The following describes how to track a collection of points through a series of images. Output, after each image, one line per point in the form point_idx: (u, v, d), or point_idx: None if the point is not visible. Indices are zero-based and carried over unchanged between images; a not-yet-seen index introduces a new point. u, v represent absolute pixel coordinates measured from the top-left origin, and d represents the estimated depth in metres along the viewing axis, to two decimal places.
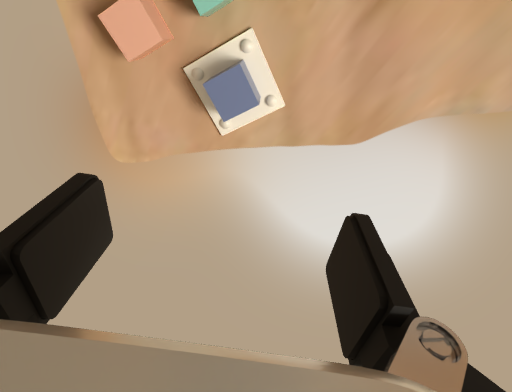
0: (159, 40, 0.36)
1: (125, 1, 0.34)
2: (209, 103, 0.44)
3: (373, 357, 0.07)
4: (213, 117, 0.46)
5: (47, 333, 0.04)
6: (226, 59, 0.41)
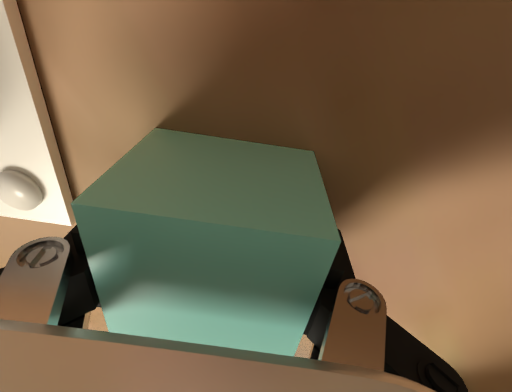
0: None
1: None
2: None
3: (312, 318, 0.08)
4: None
5: (47, 333, 0.04)
6: None
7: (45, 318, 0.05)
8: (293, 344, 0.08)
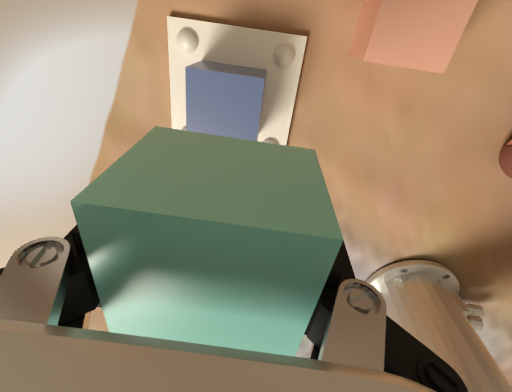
0: (367, 54, 0.19)
1: (448, 47, 0.19)
2: (232, 37, 0.23)
3: (312, 317, 0.08)
4: (207, 26, 0.23)
5: (47, 333, 0.04)
6: (272, 112, 0.26)
7: (45, 318, 0.05)
8: (294, 344, 0.08)
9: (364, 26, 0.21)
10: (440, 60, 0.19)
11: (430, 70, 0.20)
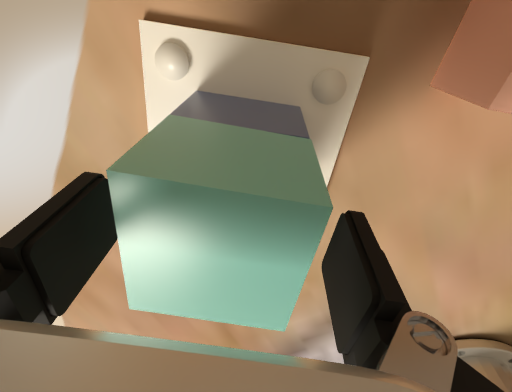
0: (498, 99, 0.11)
1: None
2: (247, 56, 0.14)
3: (366, 351, 0.07)
4: (205, 37, 0.14)
5: (47, 333, 0.04)
6: None
7: None
8: (290, 306, 0.10)
9: (481, 45, 0.12)
10: None
11: None
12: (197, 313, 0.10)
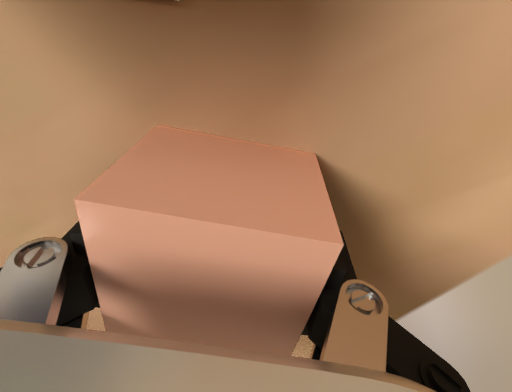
0: (95, 208, 0.06)
1: None
2: None
3: (314, 318, 0.08)
4: None
5: (47, 333, 0.04)
6: None
7: (43, 318, 0.05)
8: None
9: (199, 165, 0.08)
10: None
11: (107, 328, 0.09)
12: None
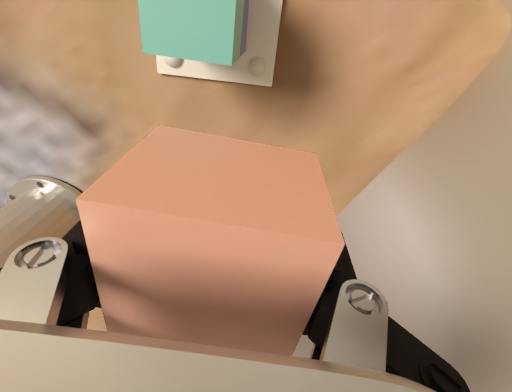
0: (97, 207, 0.06)
1: None
2: (271, 13, 0.25)
3: (314, 318, 0.08)
4: None
5: (47, 333, 0.04)
6: None
7: (43, 318, 0.05)
8: (166, 53, 0.18)
9: (200, 165, 0.08)
10: None
11: (109, 328, 0.09)
12: None
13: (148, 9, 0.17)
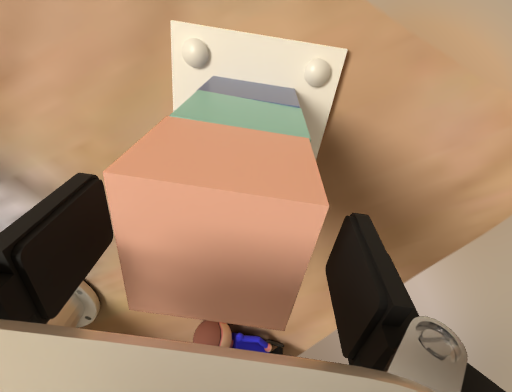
0: (120, 179, 0.07)
1: (171, 308, 0.10)
2: (313, 128, 0.21)
3: (373, 357, 0.07)
4: (328, 100, 0.20)
5: (47, 333, 0.04)
6: None
7: None
8: None
9: (205, 147, 0.09)
10: (148, 302, 0.10)
11: (128, 293, 0.10)
12: None
13: None
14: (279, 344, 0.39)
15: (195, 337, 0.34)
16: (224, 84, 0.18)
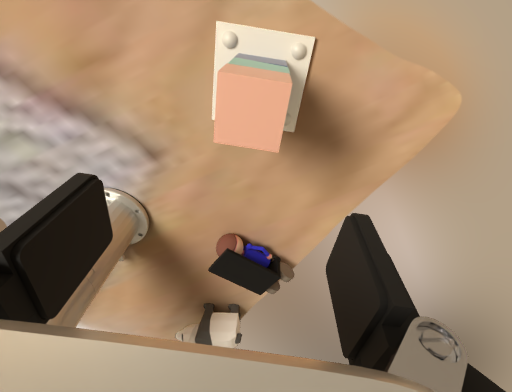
0: (223, 74, 0.21)
1: (231, 140, 0.24)
2: (297, 85, 0.35)
3: (373, 357, 0.07)
4: (305, 67, 0.34)
5: (47, 333, 0.04)
6: None
7: None
8: None
9: (247, 70, 0.23)
10: (222, 136, 0.24)
11: (215, 131, 0.24)
12: None
13: None
14: None
15: (218, 244, 0.48)
16: (246, 56, 0.32)
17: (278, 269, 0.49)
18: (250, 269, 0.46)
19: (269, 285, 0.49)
